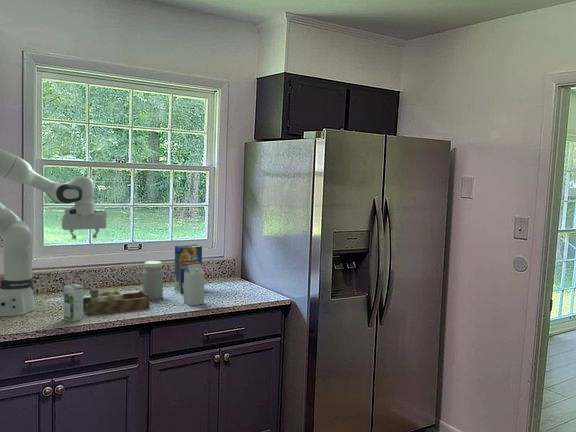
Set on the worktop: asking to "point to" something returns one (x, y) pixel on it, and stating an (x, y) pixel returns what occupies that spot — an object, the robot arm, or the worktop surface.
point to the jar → (153, 279)
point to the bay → (117, 304)
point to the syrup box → (73, 302)
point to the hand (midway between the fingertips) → (84, 238)
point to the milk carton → (194, 285)
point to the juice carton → (185, 263)
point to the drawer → (104, 295)
